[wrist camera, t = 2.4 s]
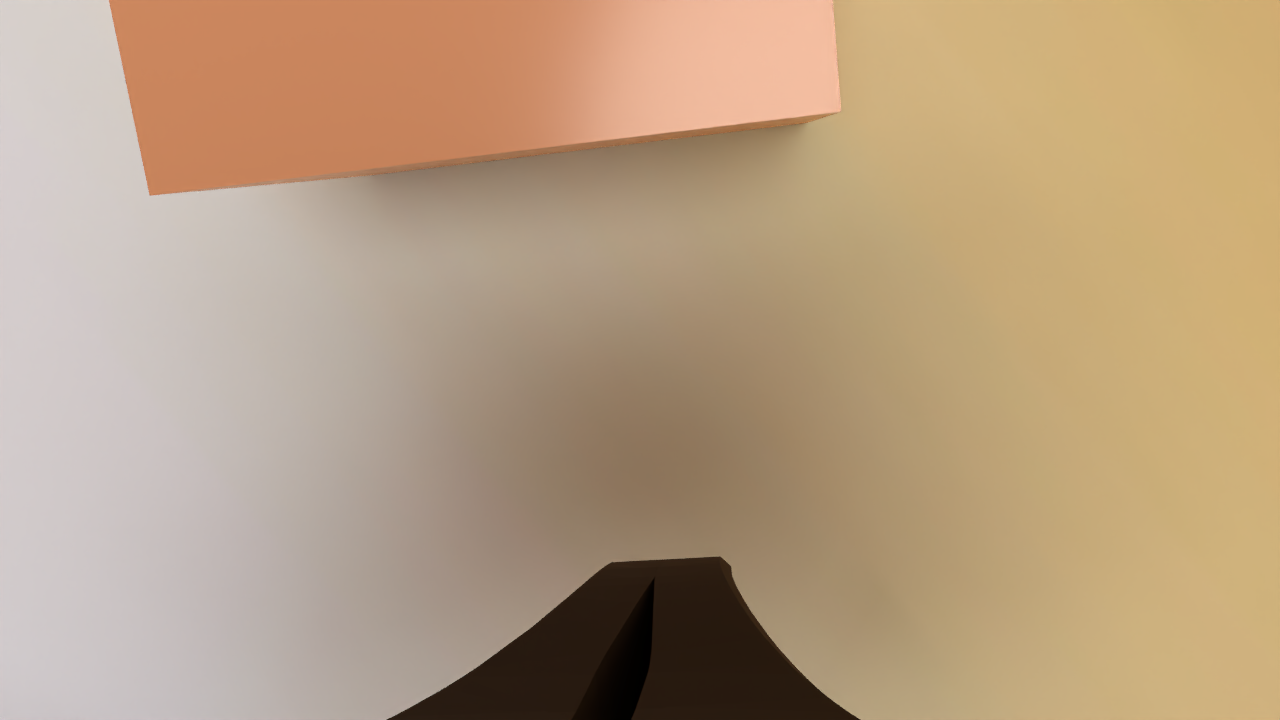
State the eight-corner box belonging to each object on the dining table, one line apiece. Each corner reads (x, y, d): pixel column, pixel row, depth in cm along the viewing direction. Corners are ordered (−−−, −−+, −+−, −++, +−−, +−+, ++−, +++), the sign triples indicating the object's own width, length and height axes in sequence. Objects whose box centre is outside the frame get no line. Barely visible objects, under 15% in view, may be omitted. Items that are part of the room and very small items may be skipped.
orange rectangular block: (806, 122, 20) (841, 112, 12) (370, 175, 21) (149, 195, 13) (787, -111, 19) (811, -280, 11) (333, -42, 20) (76, -155, 13)
